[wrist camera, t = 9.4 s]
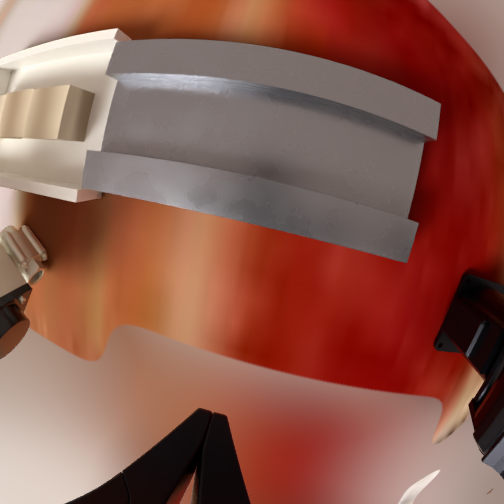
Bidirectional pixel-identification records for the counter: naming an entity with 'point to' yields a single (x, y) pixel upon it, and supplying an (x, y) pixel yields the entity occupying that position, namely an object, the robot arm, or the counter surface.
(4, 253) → the pneumatic valve
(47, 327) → the counter surface
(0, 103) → the block
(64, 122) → the block
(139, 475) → the robot arm
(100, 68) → the tray
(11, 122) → the block
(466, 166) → the counter surface
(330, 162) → the slot rail
